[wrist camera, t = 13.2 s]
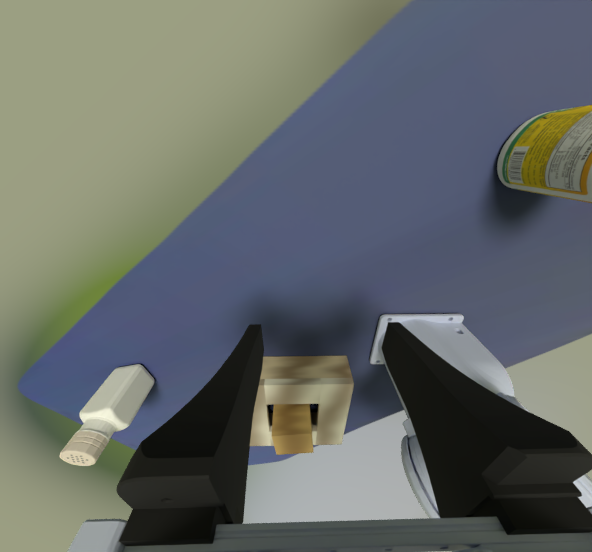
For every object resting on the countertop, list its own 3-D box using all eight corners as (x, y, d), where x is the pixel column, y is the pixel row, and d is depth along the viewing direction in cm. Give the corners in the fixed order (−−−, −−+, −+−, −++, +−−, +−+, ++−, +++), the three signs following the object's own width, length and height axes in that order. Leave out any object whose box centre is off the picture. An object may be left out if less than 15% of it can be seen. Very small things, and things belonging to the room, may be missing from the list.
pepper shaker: (158, 380, 31) (108, 465, 22) (132, 384, 31) (73, 470, 23) (142, 361, 29) (81, 446, 20) (114, 366, 29) (43, 452, 21)
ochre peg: (307, 377, 31) (311, 433, 25) (309, 396, 33) (313, 452, 27) (275, 380, 31) (271, 436, 25) (279, 398, 33) (276, 454, 27)
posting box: (346, 355, 29) (354, 384, 25) (336, 415, 36) (341, 444, 32) (238, 357, 29) (230, 385, 25) (249, 417, 35) (244, 446, 32)
